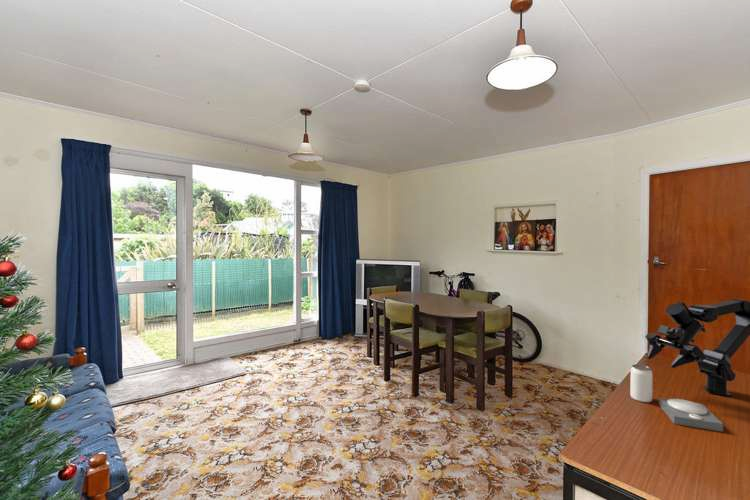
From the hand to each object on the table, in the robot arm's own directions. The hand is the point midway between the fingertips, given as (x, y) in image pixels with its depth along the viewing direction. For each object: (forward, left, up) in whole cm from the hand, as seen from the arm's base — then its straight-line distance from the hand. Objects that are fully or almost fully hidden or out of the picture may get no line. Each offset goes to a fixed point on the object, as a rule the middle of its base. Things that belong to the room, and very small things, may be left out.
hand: (659, 362), depth 129 cm
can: (+4, -7, -13) cm, 16 cm away
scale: (+14, +4, -13) cm, 20 cm away
